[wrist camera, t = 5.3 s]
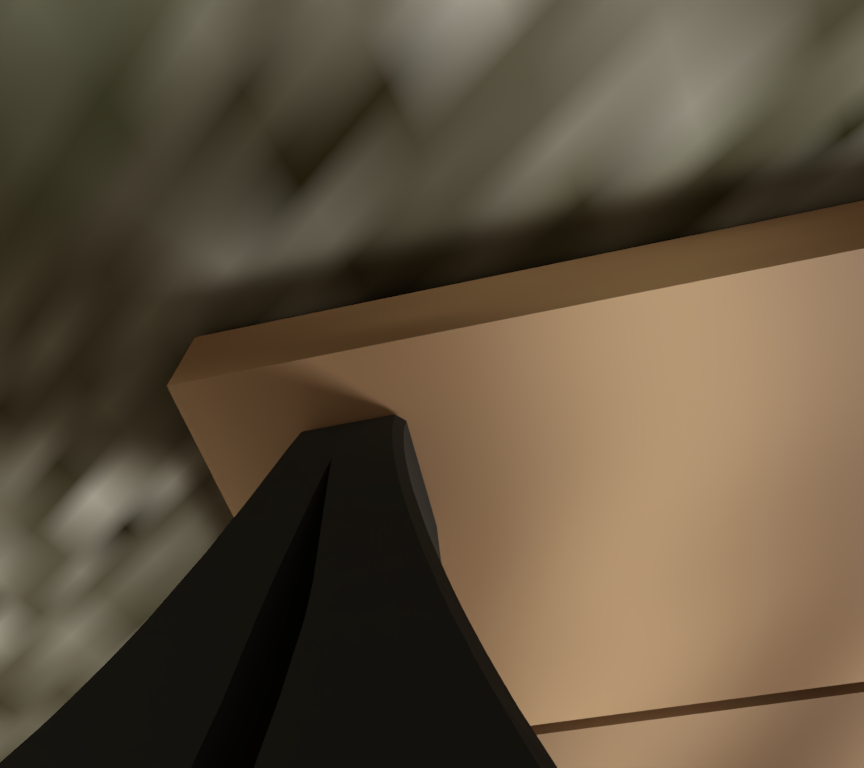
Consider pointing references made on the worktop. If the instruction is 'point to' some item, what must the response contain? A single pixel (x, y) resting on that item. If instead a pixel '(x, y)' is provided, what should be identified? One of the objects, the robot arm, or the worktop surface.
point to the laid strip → (721, 734)
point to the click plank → (605, 455)
